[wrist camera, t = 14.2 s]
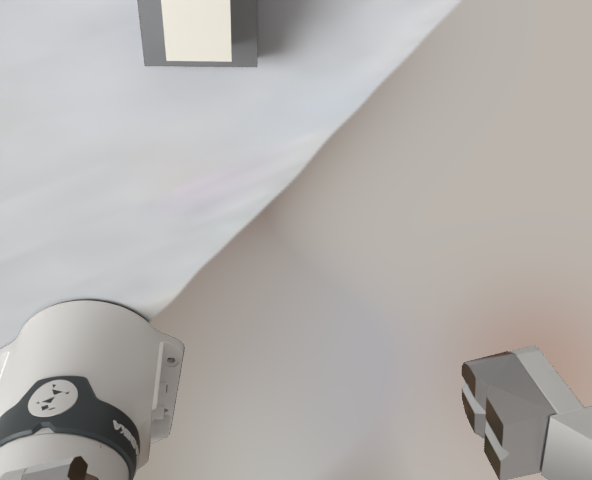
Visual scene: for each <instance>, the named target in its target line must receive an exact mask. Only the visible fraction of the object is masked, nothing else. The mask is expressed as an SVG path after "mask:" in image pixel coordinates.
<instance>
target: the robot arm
mask: <svg viewBox="0 0 592 480" xmlns="http://www.w3.org/2000/svg"><path fill="white" fill-rule="evenodd" d="M183 354H184V344H183V343H182V342H181V341H179V340H178V339H176V338H174V337H171V336H169V335H166V334H163V333H161V332H159V331H157V330H156V329H155V328H154V327H153V326H151V325H150V324H149V323H148V322H147V321H146V320H145V319H143V318H142V317H141V316H139V315H137V314H136V313H134V312H132V311H130V310H128V309H126V308H123V307H121V306H118V305H114V304H110V303H106V302H100V301H86V300H84V301H71V302H65V303H61V304H57V305H54V306H51V307H49V308H46V309H44V310H42V311H41V312H39V313H37V314H36V315H34V316H33V317H32V318H31V319H30V320H29V321H28V322H27V323H26V324H25V325H24V327H23V328H22V330H21V332H20V333H19V335H18V337H17V338H16V339H15V341H14V342H12V343H11V344H9V345H7V346H6V347H4V348H2V349H1V350H0V480H133V478H134V476H135V474H136V471H137V469H139V468H141V467H142V466H144V465H145V464H146V463H147V462H148V459H149V451H150V444H152V443H155V442H158V441H160V440H162V439H163V438H166V437H168V435H169V434H170V430H171V425H172V419H173V414H174V408H175V402H176V395H177V390H178V384H179V378H180V372H181V366H182V360H183ZM170 357H172V358H170ZM462 376H463V378H464V380H465V382H466V384H465V385H464V387H463V388H462V400H463V405H464V409H465V413H466V415H467V418H468V420H469V423H470V425H471V427H472V429H473V430H474V432H475V433H476V434H478V435H479V436H481V437H482V438H484V439H485V443H484V447H485V448H484V452H485V454H486V456H487V458H488V460H489V462H490V463H491V465H492V467H493V469H494V471H495V473H496V475H497V477H498V479H499V480H507V479H512V478H517V477H522V476H526V475H531V474H535V473H540V472H542V473H541V475H542V476H544V477H545V478H547V479H548V480H592V406H589V407H584V406H583V405H582V404H581V402H580V401H579V400H578V398H577V397H576V396H575V395H574V393H573V392H572V391H571V389H570V388H569V387H568V386H567V384H566V383H565V382H564V380H563V379H562V378H561V376H560V375H559V374H558V373H557V371H556V370H555V369H554V367H553V366H552V365H551V364H550V362H549V361H548V360H547V358H546V357H545V356H544V354H543V353H542V352H541V351H540V349H538V348H537V347H535V346H529V347H525V348H521V349H517V350H513V351H510V352H508V351H506V352H502V353H499V354H495V355H491V356H487V357H483V358H479V359H475V360H471V361H467V362H464V363H463V365H462Z"/></svg>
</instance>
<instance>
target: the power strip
mask: <svg viewBox="0 0 592 480" xmlns="http://www.w3.org/2000/svg"><path fill="white" fill-rule="evenodd" d="M137 2H138V11H139V20H140V29H141V37H142V46H143V55H144V64H145V66H196V67H257V0H230V13H231V55H232V62H216V61H166V50H165V39H164V28H163V17H162V6H161V0H137Z"/></svg>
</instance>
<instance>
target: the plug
mask: <svg viewBox="0 0 592 480" xmlns="http://www.w3.org/2000/svg"><path fill="white" fill-rule="evenodd" d="M161 6H162V17H163V28H164V39H165V50H166V61H216V62H232V55H231V13H230V0H161Z"/></svg>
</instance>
